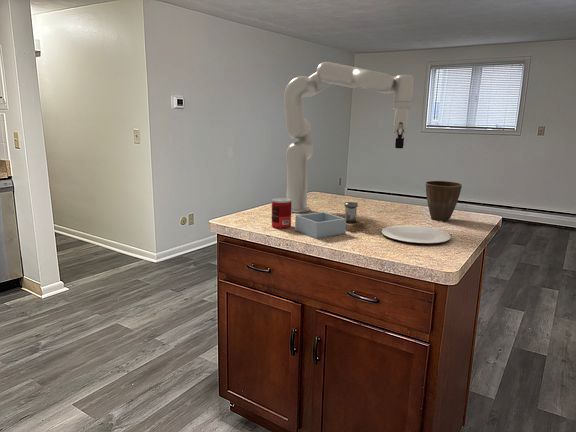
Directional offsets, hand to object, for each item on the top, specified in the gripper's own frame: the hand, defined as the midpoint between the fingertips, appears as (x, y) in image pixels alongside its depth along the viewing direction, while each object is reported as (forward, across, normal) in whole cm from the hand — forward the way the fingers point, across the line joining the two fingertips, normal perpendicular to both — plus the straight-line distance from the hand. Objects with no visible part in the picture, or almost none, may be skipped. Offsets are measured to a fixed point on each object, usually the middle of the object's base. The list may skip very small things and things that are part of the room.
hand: (399, 147), depth 189 cm
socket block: (+31, +23, -16) cm, 42 cm away
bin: (+31, +35, -26) cm, 53 cm away
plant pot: (+31, -5, +20) cm, 37 cm away
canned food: (+31, +30, -43) cm, 61 cm away
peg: (+31, +23, -16) cm, 42 cm away
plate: (+32, +28, +8) cm, 43 cm away
